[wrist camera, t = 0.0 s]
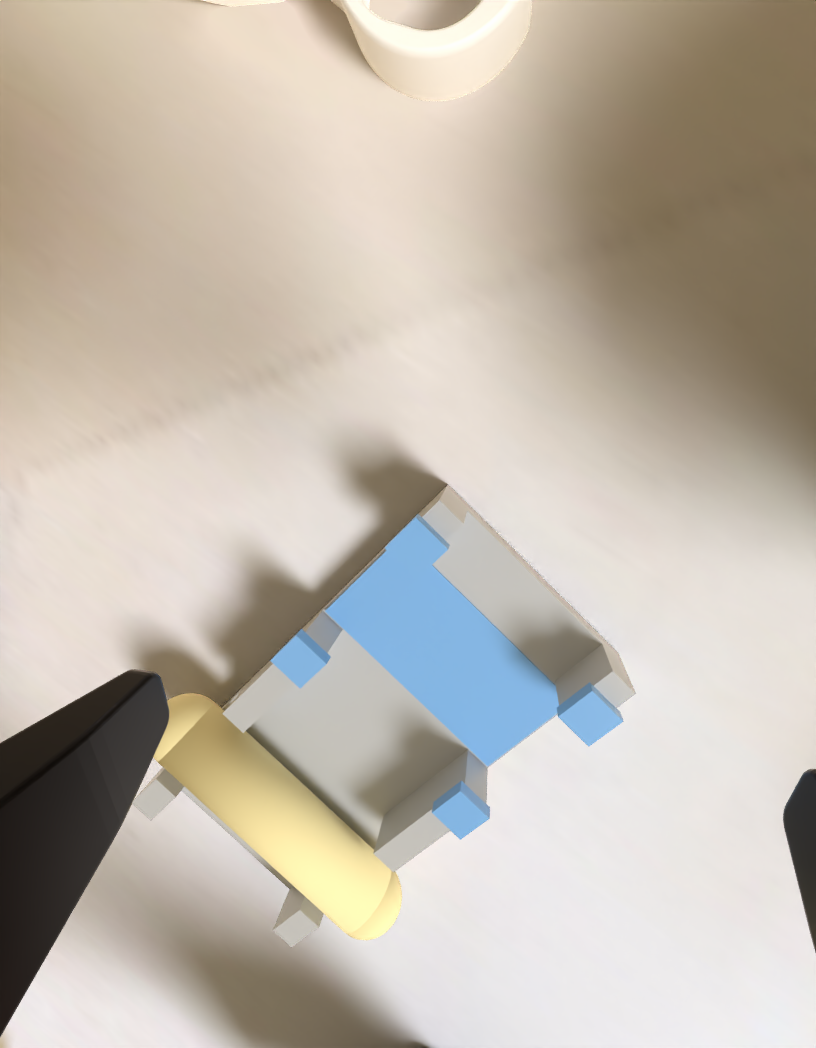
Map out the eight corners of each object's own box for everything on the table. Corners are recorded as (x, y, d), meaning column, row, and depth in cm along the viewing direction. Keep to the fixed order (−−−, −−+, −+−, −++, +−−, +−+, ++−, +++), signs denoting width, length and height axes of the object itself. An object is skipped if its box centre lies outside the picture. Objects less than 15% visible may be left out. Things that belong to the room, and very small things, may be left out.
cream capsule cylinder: (420, 872, 26) (410, 936, 23) (375, 904, 27) (360, 970, 24) (199, 666, 26) (159, 705, 23) (161, 707, 26) (116, 749, 23)
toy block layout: (316, 890, 29) (289, 963, 25) (168, 754, 28) (119, 809, 25) (621, 656, 23) (643, 706, 20) (444, 480, 23) (433, 499, 19)
